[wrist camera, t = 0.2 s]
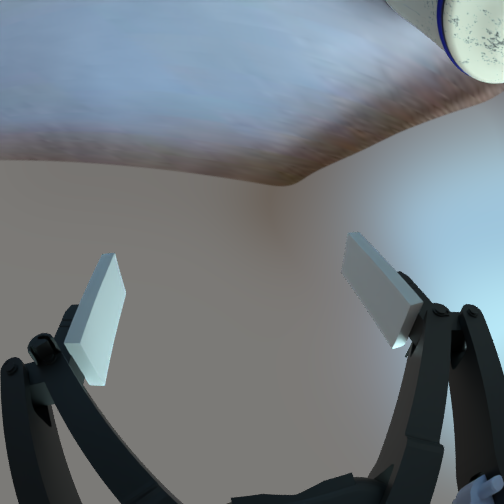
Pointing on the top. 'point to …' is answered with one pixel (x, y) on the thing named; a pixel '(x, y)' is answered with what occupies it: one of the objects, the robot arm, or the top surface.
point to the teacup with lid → (462, 32)
